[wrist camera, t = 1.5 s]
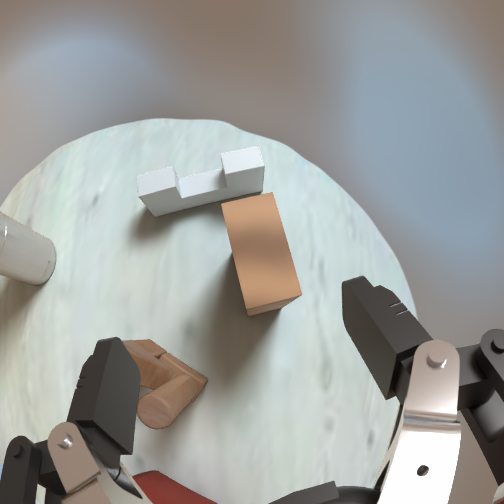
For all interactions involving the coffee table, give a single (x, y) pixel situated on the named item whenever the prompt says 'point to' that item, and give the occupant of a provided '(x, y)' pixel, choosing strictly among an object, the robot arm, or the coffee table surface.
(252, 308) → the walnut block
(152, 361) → the brown notched handled part
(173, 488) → the plant pot
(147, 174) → the white notched u-shaped brace
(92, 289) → the coffee table surface
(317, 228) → the coffee table surface
